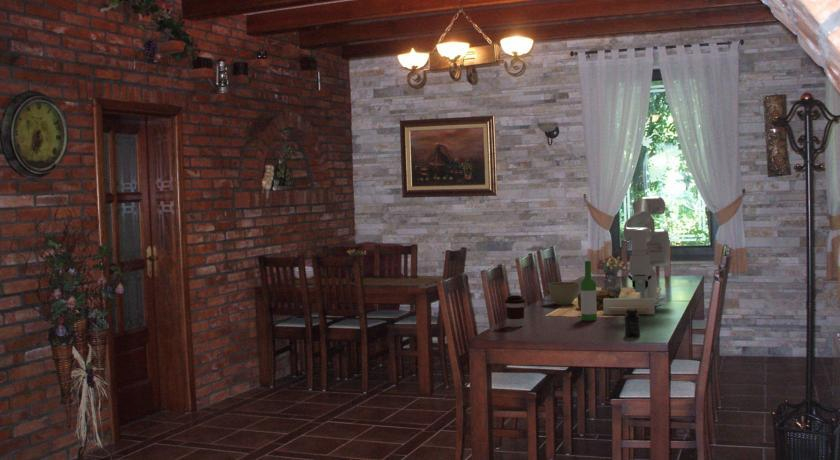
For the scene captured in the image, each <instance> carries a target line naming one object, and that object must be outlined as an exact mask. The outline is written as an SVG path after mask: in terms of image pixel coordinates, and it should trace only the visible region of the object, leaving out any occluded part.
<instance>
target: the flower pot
mask: <svg viewBox="0 0 840 460" xmlns="http://www.w3.org/2000/svg"><path fill="white" fill-rule="evenodd" d="M579 289H580V282H575V281H556V282H549V283H547V290H548V292H549V295H550V297H551V299H552V300H553V302H554V303H555V304H556V305H558V306H568V305H569V306H570V305H572V304H573V303H574V302H575V299H576V298H577V297H578V294H579Z"/></svg>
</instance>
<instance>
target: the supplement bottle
mask: <svg viewBox="0 0 840 460" xmlns="http://www.w3.org/2000/svg"><path fill="white" fill-rule="evenodd" d="M623 321H624V336H625V337H627V336H628V337H627V338H637V337H636V336H639V337H641V318H640V316H639V314H638V312H637V309H627V310H626V314H625V315H624V318H623Z"/></svg>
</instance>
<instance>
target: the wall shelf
mask: <svg viewBox="0 0 840 460" xmlns="http://www.w3.org/2000/svg"><path fill="white" fill-rule="evenodd" d="M627 309H637V312H638V314H637V315H656V314H655V313H656V311H655V306H654V299H640V298H614V299H603V309H602V310H603V315H627V314H626V310H627Z"/></svg>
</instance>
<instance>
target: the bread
mask: <svg viewBox="0 0 840 460" xmlns="http://www.w3.org/2000/svg"><path fill="white" fill-rule="evenodd" d="M603 299H615V296H614V293H613V291H611V290H610V289H601V290H596V303H597V310H603ZM577 304H578V308H579V309H580V308H581V292H578V293H577Z"/></svg>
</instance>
